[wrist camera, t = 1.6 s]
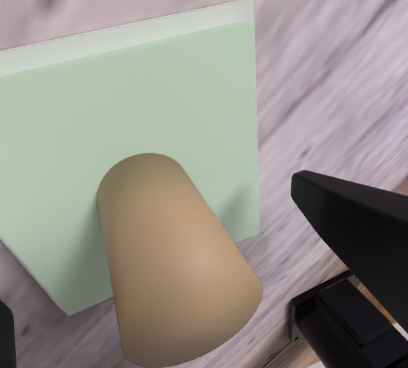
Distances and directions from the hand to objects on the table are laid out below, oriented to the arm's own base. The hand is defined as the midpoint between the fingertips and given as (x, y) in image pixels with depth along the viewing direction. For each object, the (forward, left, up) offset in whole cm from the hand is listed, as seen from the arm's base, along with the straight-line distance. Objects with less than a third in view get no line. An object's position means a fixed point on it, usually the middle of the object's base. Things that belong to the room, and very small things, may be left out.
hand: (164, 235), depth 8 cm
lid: (0, 0, -3) cm, 3 cm away
